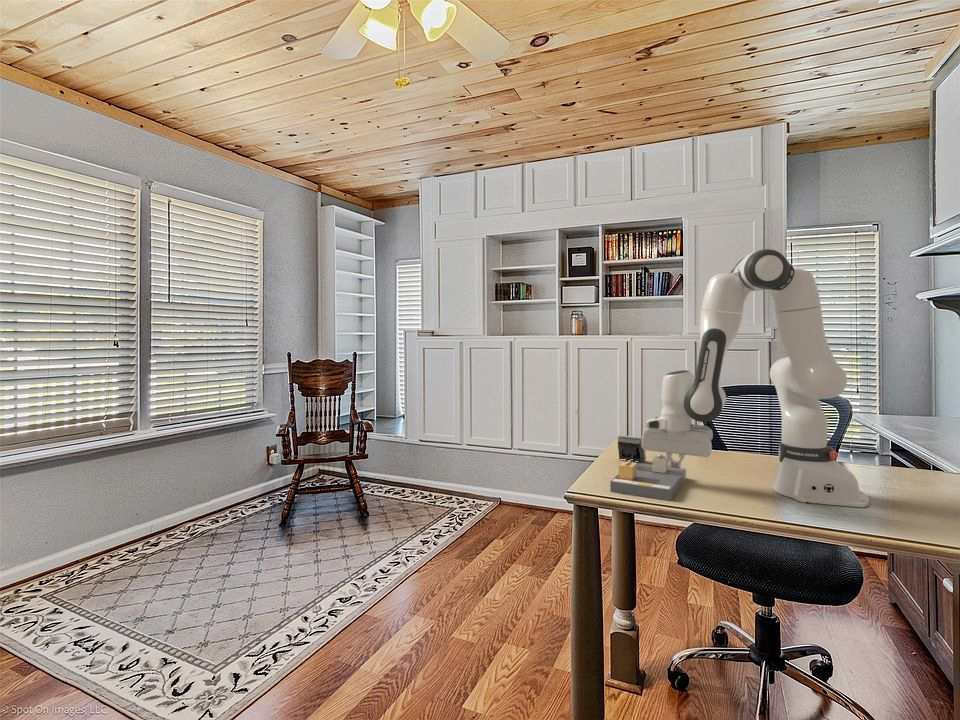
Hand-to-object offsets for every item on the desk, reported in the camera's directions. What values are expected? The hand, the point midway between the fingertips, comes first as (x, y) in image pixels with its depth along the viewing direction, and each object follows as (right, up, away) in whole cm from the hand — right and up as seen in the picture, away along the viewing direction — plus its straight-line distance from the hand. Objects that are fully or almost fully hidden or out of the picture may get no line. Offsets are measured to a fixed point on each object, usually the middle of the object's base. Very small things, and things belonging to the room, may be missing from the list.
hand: (675, 467), depth 162 cm
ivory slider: (-4, -1, +2) cm, 5 cm away
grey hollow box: (-6, -3, +26) cm, 27 cm away
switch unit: (-9, -5, -1) cm, 10 cm away
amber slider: (-16, -2, -4) cm, 17 cm away
